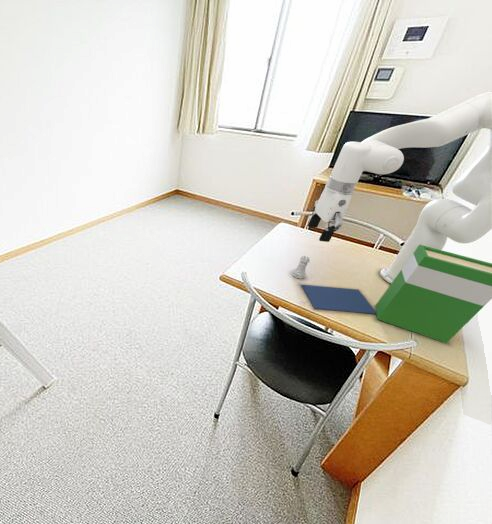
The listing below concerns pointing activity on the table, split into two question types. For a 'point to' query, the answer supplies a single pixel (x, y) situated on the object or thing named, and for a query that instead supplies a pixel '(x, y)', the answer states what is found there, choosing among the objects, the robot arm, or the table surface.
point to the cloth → (338, 299)
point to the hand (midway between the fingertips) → (317, 233)
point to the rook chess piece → (301, 268)
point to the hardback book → (436, 293)
